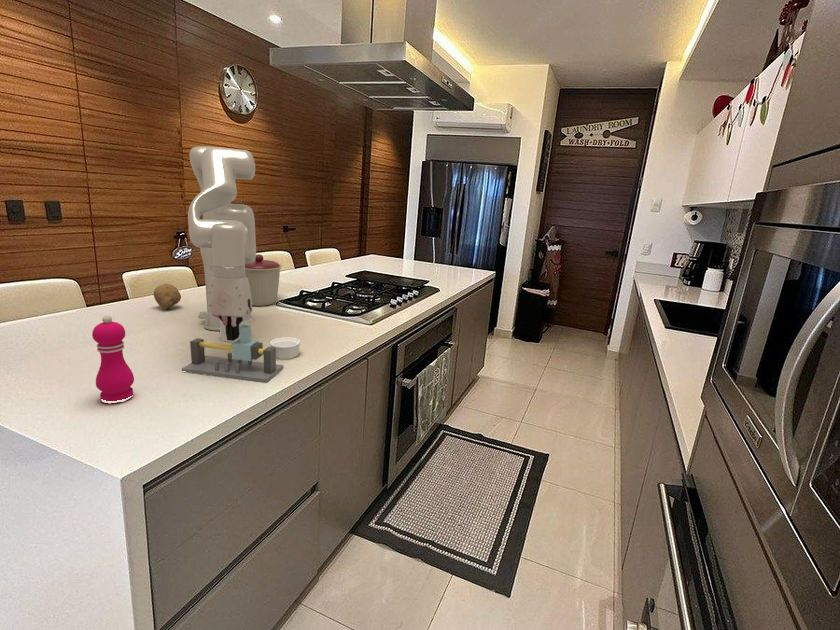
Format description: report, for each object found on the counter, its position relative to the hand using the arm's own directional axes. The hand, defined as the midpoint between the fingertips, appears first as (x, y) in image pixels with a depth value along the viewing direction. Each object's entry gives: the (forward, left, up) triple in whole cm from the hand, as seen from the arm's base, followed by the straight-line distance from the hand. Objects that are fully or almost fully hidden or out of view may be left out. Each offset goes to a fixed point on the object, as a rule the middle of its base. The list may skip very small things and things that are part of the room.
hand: (232, 338), depth 117 cm
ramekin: (+8, +15, -10) cm, 19 cm away
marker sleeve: (+4, 0, -5) cm, 6 cm away
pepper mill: (-16, -22, -9) cm, 29 cm away
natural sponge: (-54, +46, -9) cm, 72 cm away
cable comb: (0, 0, -9) cm, 9 cm away
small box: (-12, +22, -9) cm, 27 cm away
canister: (-27, +67, -9) cm, 73 cm away
